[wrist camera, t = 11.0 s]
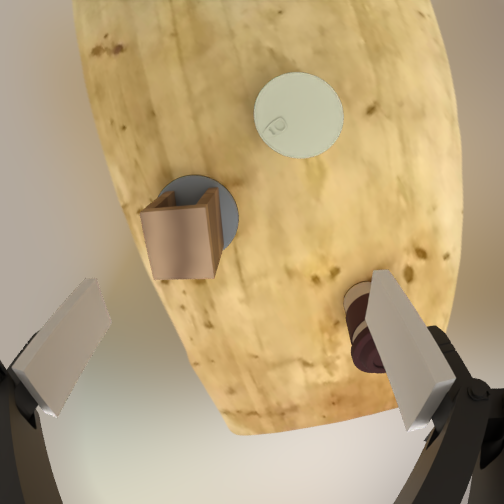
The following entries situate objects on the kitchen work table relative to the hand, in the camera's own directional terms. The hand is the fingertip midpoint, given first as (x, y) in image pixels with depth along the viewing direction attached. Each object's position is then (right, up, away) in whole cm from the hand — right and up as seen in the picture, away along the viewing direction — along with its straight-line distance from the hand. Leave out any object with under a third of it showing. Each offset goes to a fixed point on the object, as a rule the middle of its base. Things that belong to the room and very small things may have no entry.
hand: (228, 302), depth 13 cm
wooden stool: (-7, +7, +30) cm, 32 cm away
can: (+6, +21, +24) cm, 32 cm away
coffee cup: (+20, -6, +36) cm, 42 cm away
